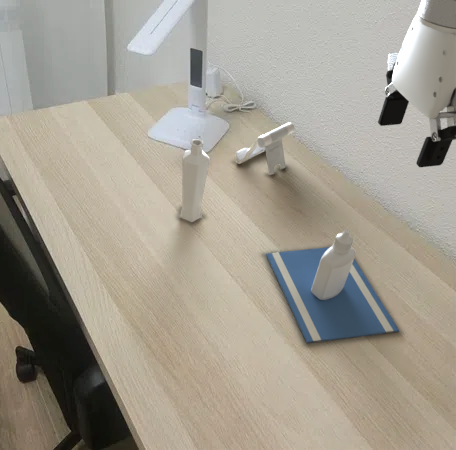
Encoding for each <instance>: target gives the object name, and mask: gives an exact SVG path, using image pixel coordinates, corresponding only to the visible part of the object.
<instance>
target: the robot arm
mask: <svg viewBox="0 0 456 450" xmlns="http://www.w3.org/2000/svg"><path fill="white" fill-rule="evenodd" d="M385 77H386V83H387V84H386V87H385V88H384V95H385V98H384V101H383V104H382V107H381V110H380V113H379V114H380V115H379V117H378V121H377V124H378V125H379V126H381V127H383V126H384V127H385V126H394V125H395V126H396V125H401V124H403V121H404V117H405V114H406V111H407V109H408V105H409V103H410V104H411V105H412V106H413V107H414V108H415V109H417V111H419V112H420V113H421V114H422V115H423V116H425V117H427V119H428V120H429V121H428V122H429V130H430V131H429V132H430V136H426V137H425V139H424V142H423V144H422V147H421V149H420V151H419V154H418V157H417V159H416V163H415V164H416V165H417V166H418V168H426V167H427V168H428V167H437V166H438V167H439V166H441V165H443V164H444V161H445V159H446V156H447V154H448V152H449V149H450V147H451V145H452V142H453V141H456V0H420V2H419V4H418V8H417V11H416V14H415V15H414V17H413V19H412V21H411V23H410V26H409V28H408V30H407V32H406V35H405V37H404V40H403V42H402V45H401V47H400V50H399V51H398V52H391V53H389V54H388V56H387V71H386V74H385ZM445 108H446V111H444V109H445ZM443 119H444V120H445V119H446V126H447V127H444V128H442V122H441V120H443Z"/></svg>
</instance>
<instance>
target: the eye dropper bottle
mask: <svg viewBox="0 0 456 450" xmlns="http://www.w3.org/2000/svg"><path fill="white" fill-rule="evenodd" d="M350 233H351V232H350V230H349V229H344V230H343V232H339V233H337V234H336V235H335V237H334V240H333V244H332V245H331V246H329V247H330V248H329V249H328V250H327V251H326V252H325V253H324V254H323V256H322V258H321V261H320V263H319V266H318V270H317V273H316V276H315V279H314V282H313V285H312V289H311V292H312V293H313V294H314V295H315V296H316V297H317V298H319V299H320V300H326V299H330V298H333V297H335V296H336V295H338V294H339V293H340V292H341V291H342V289H343V287H344V285H345V282H346V280H347V277H348V274H349V271H350V269H351V266H352V263H353V260H354V259H355V257H356V250H355V248H354V247H352V246H353V243H354V239H353V237H352V236H351V235H350Z"/></svg>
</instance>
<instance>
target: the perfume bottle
mask: <svg viewBox="0 0 456 450" xmlns="http://www.w3.org/2000/svg"><path fill="white" fill-rule="evenodd" d="M204 144H205V143H204V141H203V140H202V139H199V138H197V139H195V138H194V139H191V141H190V149H188V150H187V149H186V150H185V151H184V153H183V156H182V161H181V165H182V167H181V170H182V171H181V172H182V173H181V175H182V177H181V178H182V179H181V181H182V182H181V183H182V185H181V186H182V189H181V190H182V191H181V192H182V195H181V196H182V197H181V198H182V208H181V212H180V215H179V218H180V219H183V220H185V221H188V222H190V223H193V222H195V221H198V220H199V219H201V218H202V217H203V215H202V211H201V207H202V202H203V196H204V192H205V188H206V182H207V177H208V172H209V168H210V167H209V166H210V162H211V158H210V157H209V155H208V154H207V153H206V152H205V151H204V150H203V147H204Z"/></svg>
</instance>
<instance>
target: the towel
mask: <svg viewBox="0 0 456 450" xmlns="http://www.w3.org/2000/svg"><path fill="white" fill-rule="evenodd" d="M330 247H331V246H327V247H319V248H318V247H317V248H308V249H306V248H305V249H299V250H298V249H297V250H288V251H276V252H268V253H266V255H265V256H266V259H267V260H268V263H269V265H270V267H271V269H272V271H273V273H274V275H275V277H276V280H277V282H278V284H279V287H280V289H281V291H282V293H283V295H284V297H285V299H286V302H287V304H288V306H289V308H290V311H291V313H292V315H293V317H294V319H295V321H296V323H297V326H298V327H299V330H300V332H301V334H302V336H303V338H304V340H305V343H306V344H314V343H320V342H328V341H329V342H330V341H335V340H345V339H353V338H361V337H368V336H374V335H375V336H376V335H384V334H391V333H398V332H400V329H399V327H398V326H397V324H396V322H395V321H394V319H393V318H392V316H391V315H390V312H389V311H388V310H387V308H386V307H385V305H384V303H383V302H382V300H381V299H380V297H379V296H378V293H376V290H375V289H374V287H373V286H372V285H371V283H370V282H369V280H368V278H367V276H366V274H364V272H363V270H362V268H361V267H360V265H359V264H358V262H357V261H356V259H355V258H354V260H353V263H352V266H351V269H350V271H349V274H348V277H347V280H346V282H345V285H344V287H343V289H342V291H341V292H340V293H339V294H338V295H336V296H335V297H333V298H330V299H326V300H320V299H319V298H317V297H316V296H315V295H314V294H313V293H312V292H311V289H312V285H313V282H314V279H315V276H316V273H317V270H318V266H319V263H320V261H321V258H322V256H323V254H324V253H325V252H326V251H327V250H328V249H329V248H330Z"/></svg>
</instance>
